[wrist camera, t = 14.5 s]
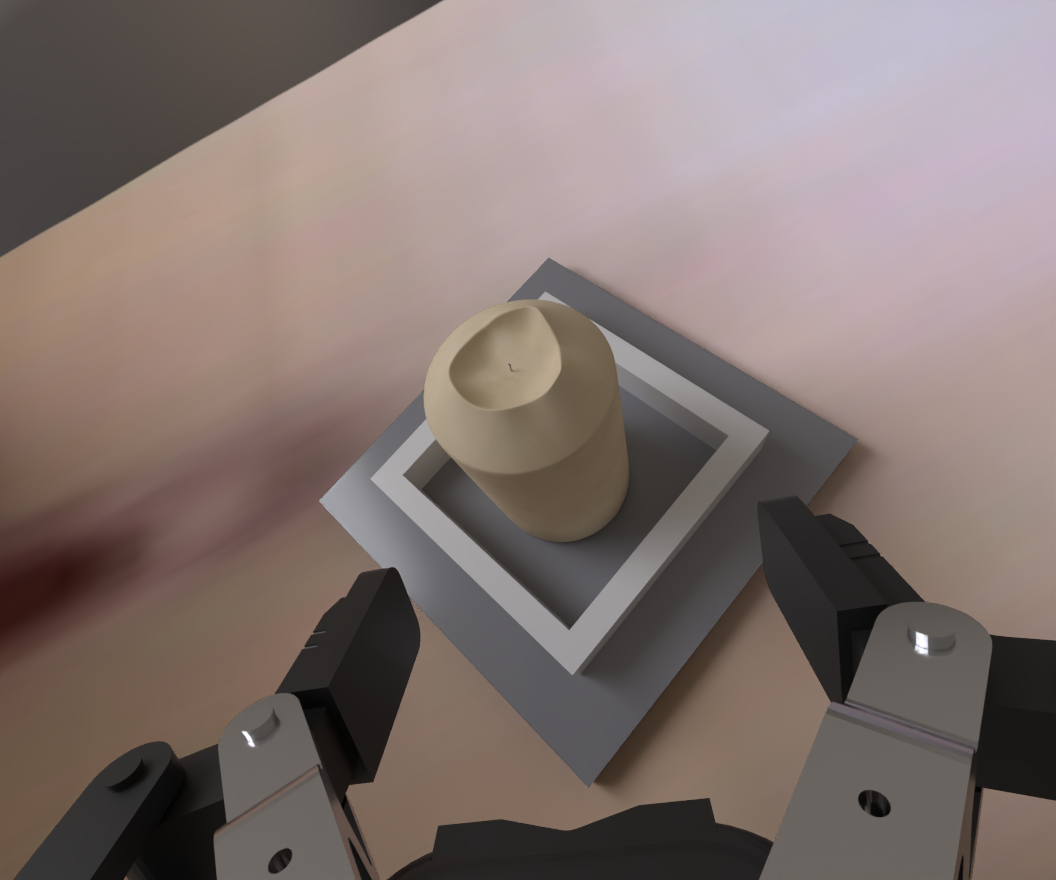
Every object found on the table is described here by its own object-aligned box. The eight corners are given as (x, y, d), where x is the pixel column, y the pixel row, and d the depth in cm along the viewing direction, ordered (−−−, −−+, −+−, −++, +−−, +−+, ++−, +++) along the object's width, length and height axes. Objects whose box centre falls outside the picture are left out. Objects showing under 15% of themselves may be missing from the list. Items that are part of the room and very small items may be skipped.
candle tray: (592, 782, 20) (581, 800, 17) (330, 506, 26) (292, 488, 24) (850, 448, 22) (876, 417, 19) (552, 270, 29) (540, 229, 26)
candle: (544, 397, 25) (481, 240, 16) (655, 455, 23) (654, 311, 14) (473, 500, 24) (361, 393, 15) (583, 571, 22) (532, 496, 13)
